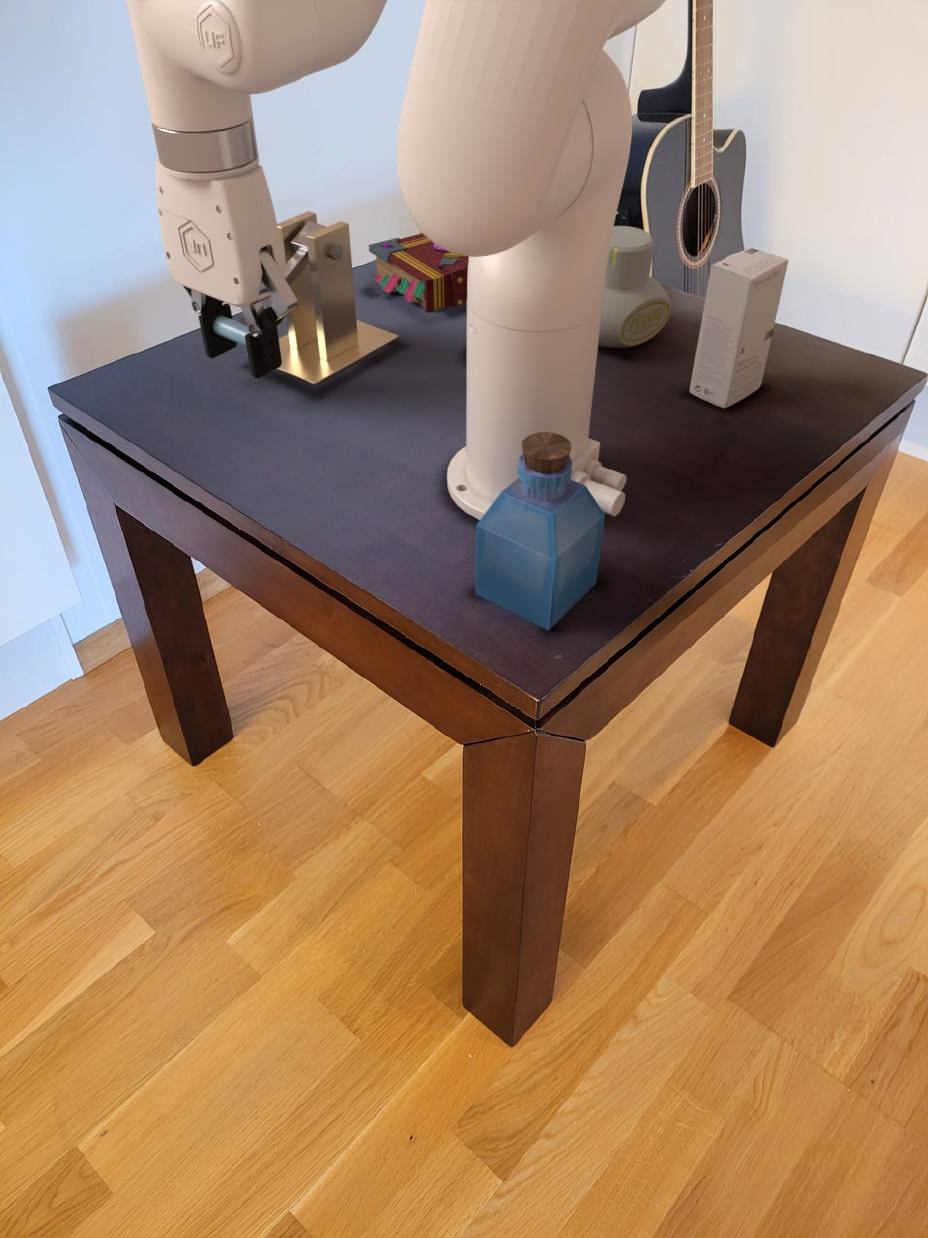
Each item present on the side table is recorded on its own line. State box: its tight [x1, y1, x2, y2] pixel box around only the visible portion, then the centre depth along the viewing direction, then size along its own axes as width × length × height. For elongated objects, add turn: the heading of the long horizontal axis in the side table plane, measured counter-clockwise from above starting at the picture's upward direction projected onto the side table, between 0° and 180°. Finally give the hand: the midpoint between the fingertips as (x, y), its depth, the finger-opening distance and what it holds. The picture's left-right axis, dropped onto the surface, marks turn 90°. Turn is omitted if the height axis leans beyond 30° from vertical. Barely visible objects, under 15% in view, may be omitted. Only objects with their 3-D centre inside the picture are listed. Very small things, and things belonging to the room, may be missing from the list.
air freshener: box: [598, 225, 672, 349], centre depth 93 cm, size 11×8×10 cm
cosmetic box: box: [689, 247, 789, 409], centre depth 84 cm, size 6×4×12 cm
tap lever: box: [213, 221, 327, 347], centre depth 84 cm, size 13×5×2 cm, turn 143°
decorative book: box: [368, 229, 469, 313], centre depth 103 cm, size 11×16×5 cm
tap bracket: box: [246, 210, 400, 387], centre depth 89 cm, size 12×9×13 cm
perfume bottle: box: [475, 432, 606, 632], centre depth 64 cm, size 6×6×12 cm
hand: (244, 359), depth 85 cm, fingers closed on tap lever, 5 cm apart
